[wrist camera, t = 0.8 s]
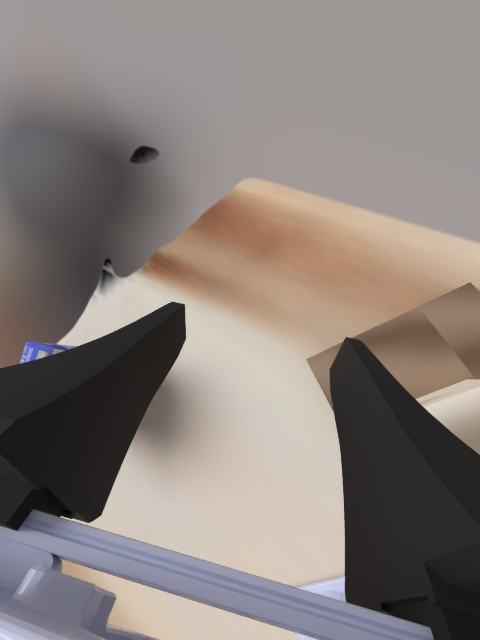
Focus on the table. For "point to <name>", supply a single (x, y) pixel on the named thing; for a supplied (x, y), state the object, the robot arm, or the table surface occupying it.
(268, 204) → the table surface
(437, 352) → the trap board
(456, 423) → the birch block
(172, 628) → the table surface
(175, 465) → the table surface
